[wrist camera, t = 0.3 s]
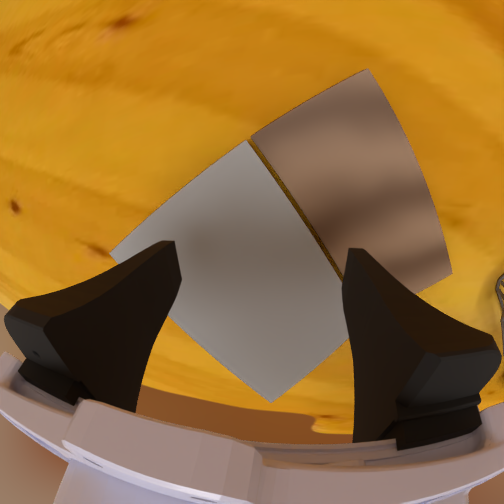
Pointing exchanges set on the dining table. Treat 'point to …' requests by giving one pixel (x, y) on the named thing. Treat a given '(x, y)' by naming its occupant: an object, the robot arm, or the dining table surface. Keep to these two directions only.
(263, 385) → the grey plank
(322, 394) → the dining table surface
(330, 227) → the walnut board
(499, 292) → the geometric lantern
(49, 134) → the dining table surface
